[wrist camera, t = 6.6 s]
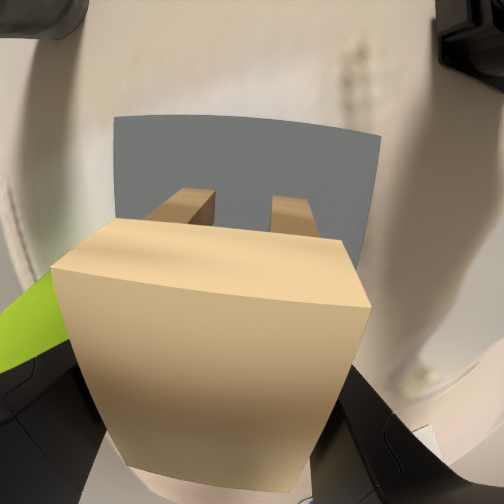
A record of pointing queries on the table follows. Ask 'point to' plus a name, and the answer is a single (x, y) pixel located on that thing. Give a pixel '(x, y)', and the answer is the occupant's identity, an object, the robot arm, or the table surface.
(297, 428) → the oak stool
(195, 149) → the grey rectangular board
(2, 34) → the beverage cup
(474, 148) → the table surface
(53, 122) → the table surface
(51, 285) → the soap dispenser
